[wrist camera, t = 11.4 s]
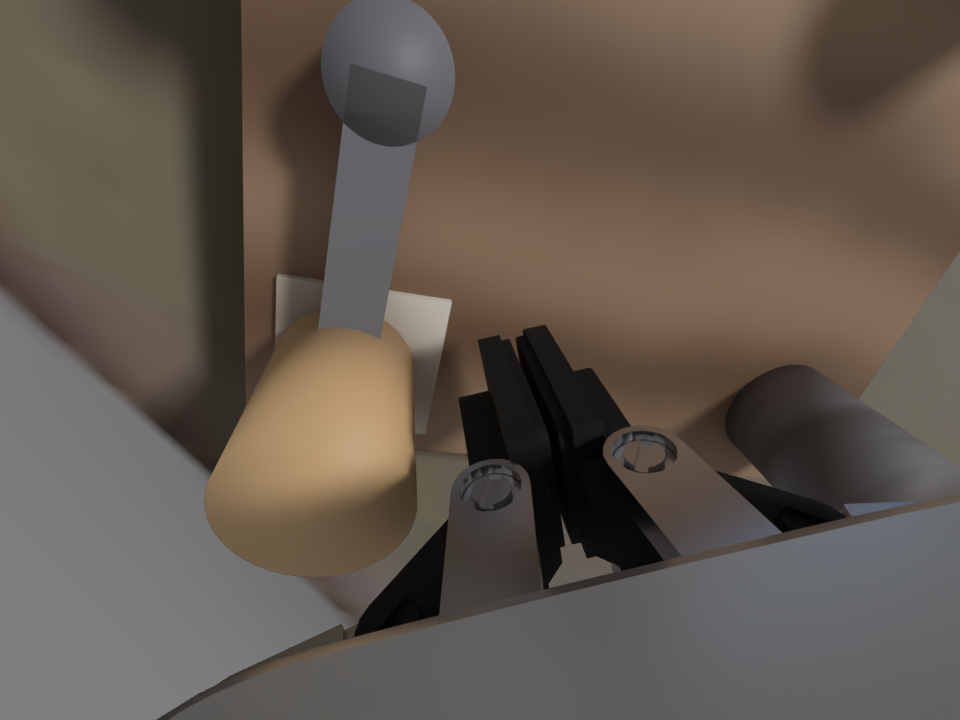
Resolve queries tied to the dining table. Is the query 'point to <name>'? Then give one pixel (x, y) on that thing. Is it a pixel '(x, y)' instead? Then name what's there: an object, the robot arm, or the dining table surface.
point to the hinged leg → (344, 329)
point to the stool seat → (646, 215)
